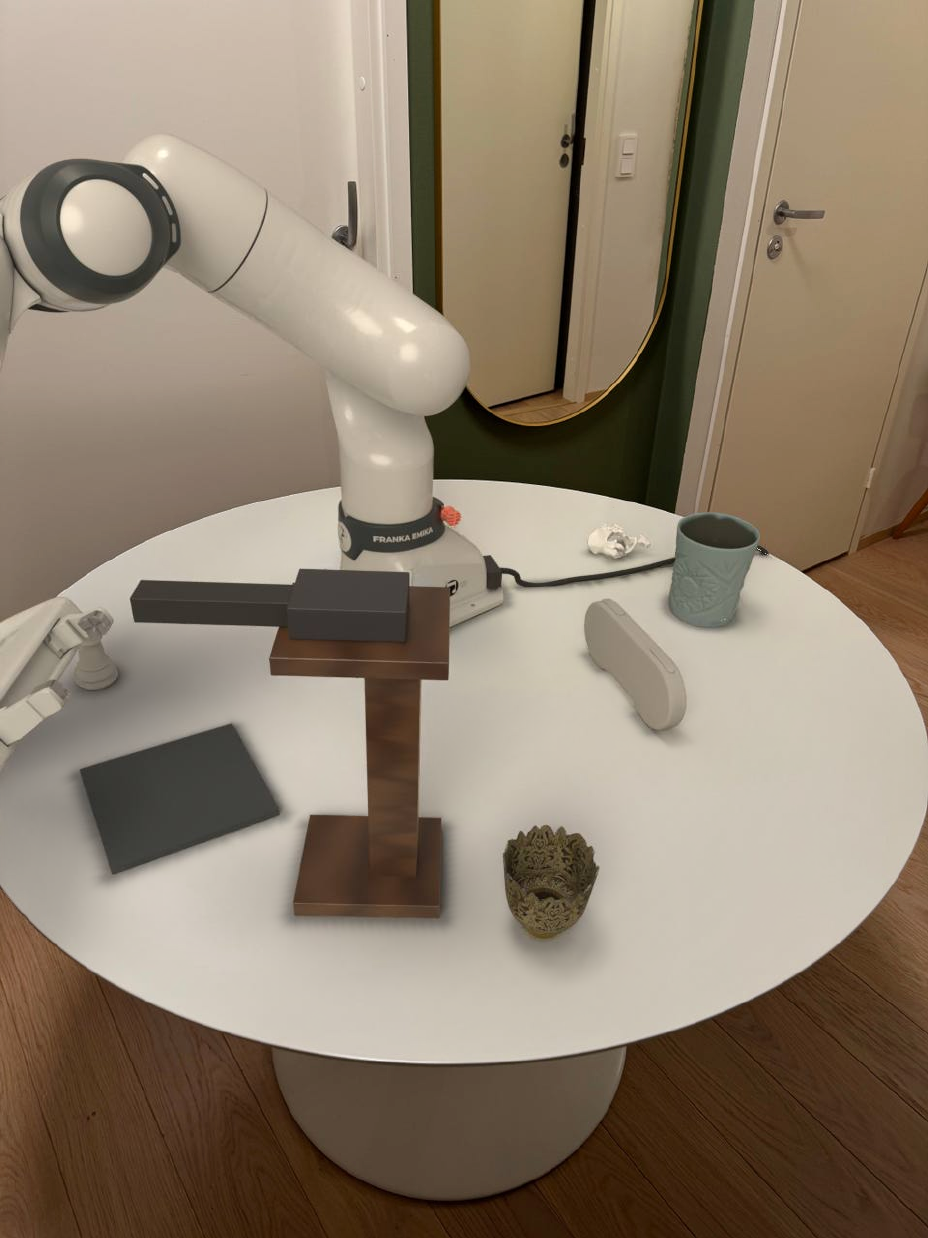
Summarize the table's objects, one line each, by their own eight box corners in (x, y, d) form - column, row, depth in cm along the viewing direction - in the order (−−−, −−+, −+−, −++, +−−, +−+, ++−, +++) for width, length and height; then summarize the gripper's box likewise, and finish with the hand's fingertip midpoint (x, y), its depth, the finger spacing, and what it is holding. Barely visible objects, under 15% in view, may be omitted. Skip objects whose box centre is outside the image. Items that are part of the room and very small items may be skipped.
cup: (492, 891, 75) (498, 824, 71) (577, 887, 76) (587, 821, 71) (503, 967, 69) (510, 899, 64) (595, 962, 69) (608, 895, 65)
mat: (232, 728, 91) (231, 723, 91) (279, 814, 81) (279, 808, 81) (81, 775, 85) (79, 769, 84) (112, 874, 75) (110, 868, 74)
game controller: (681, 741, 93) (695, 678, 88) (662, 745, 92) (676, 682, 87) (596, 642, 108) (605, 584, 103) (580, 645, 107) (587, 587, 103)
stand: (441, 829, 81) (450, 586, 67) (439, 918, 72) (449, 663, 58) (310, 826, 80) (292, 581, 66) (293, 915, 72) (268, 657, 58)
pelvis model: (613, 546, 122) (583, 523, 126) (608, 571, 124) (578, 548, 129) (655, 532, 125) (625, 511, 130) (649, 557, 128) (619, 535, 132)
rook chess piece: (105, 695, 95) (91, 634, 91) (68, 688, 96) (52, 628, 92) (126, 671, 99) (114, 611, 95) (90, 665, 100) (76, 606, 95)
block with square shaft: (409, 601, 65) (409, 571, 63) (405, 642, 60) (406, 612, 59) (151, 593, 64) (145, 563, 63) (127, 634, 60) (120, 603, 58)
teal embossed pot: (730, 593, 119) (749, 513, 113) (748, 634, 111) (770, 550, 104) (656, 589, 119) (671, 509, 113) (668, 630, 111) (685, 546, 104)
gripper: (-170, 792, 57) (-12, 713, 54) (-25, 621, 74) (102, 553, 71) (-95, 851, 60) (59, 780, 57) (28, 674, 77) (152, 611, 74)
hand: (84, 653), depth 64 cm, fingers open, 8 cm apart
